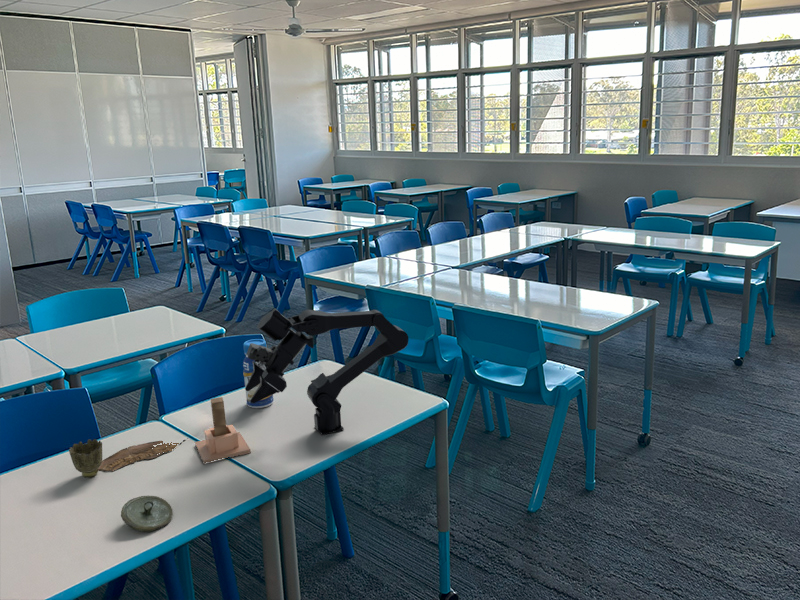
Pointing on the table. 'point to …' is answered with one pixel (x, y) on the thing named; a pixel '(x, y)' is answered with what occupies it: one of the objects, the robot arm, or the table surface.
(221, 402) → the brown wooden block
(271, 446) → the table surface
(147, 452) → the wooden fragment
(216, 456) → the terracotta holder
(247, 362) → the beverage bottle
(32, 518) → the table surface
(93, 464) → the cup
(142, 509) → the lid
